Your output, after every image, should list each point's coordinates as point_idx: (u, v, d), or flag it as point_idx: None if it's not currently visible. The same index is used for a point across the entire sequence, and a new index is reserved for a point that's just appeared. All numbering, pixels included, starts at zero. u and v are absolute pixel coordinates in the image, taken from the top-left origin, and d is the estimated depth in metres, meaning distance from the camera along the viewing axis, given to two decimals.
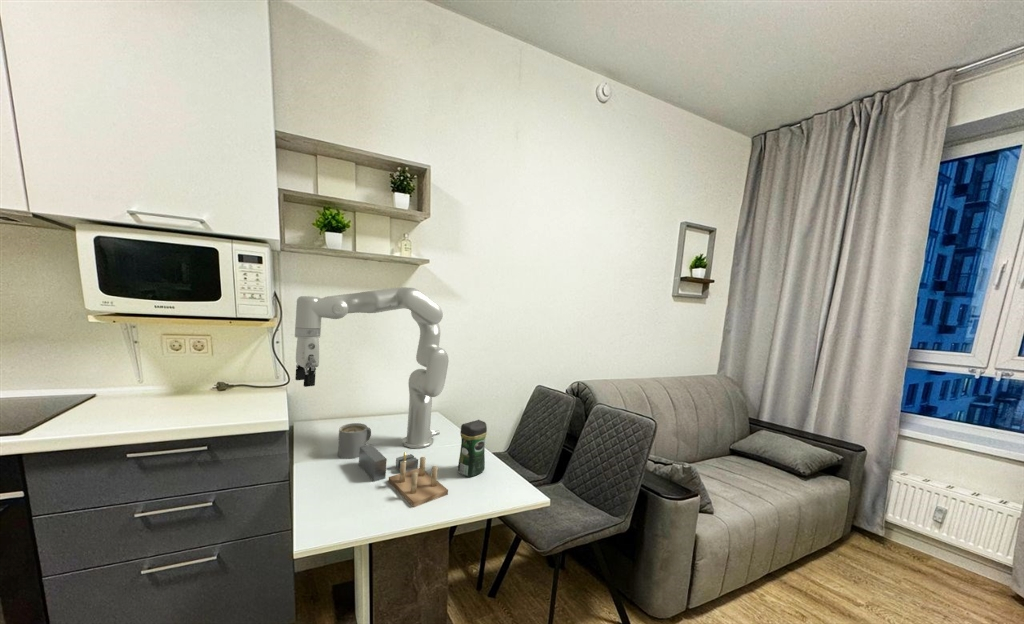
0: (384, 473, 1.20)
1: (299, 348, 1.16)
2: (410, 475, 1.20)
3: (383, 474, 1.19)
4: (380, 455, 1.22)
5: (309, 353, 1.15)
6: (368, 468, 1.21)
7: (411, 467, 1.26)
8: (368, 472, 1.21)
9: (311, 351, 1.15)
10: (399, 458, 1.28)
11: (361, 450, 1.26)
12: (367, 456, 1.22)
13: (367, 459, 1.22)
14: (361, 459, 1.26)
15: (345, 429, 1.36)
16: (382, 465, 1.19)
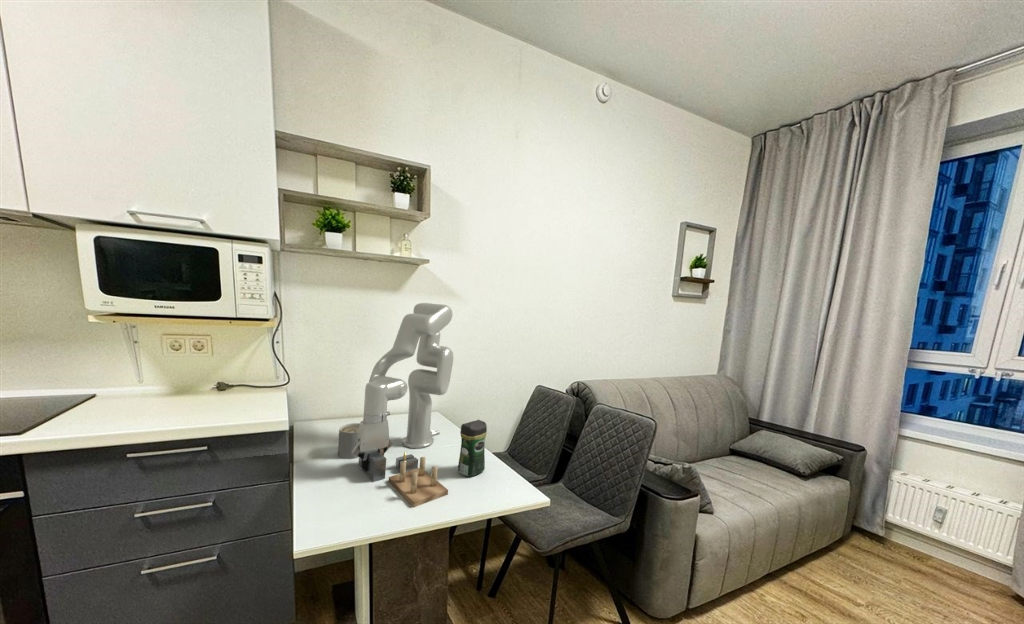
0: (384, 473, 1.19)
1: (379, 433, 1.22)
2: (410, 475, 1.20)
3: (383, 474, 1.19)
4: (379, 454, 1.22)
5: None
6: None
7: (411, 467, 1.26)
8: (367, 471, 1.21)
9: None
10: (399, 458, 1.28)
11: None
12: (367, 456, 1.22)
13: (367, 459, 1.21)
14: (361, 459, 1.25)
15: (345, 429, 1.36)
16: (382, 465, 1.19)
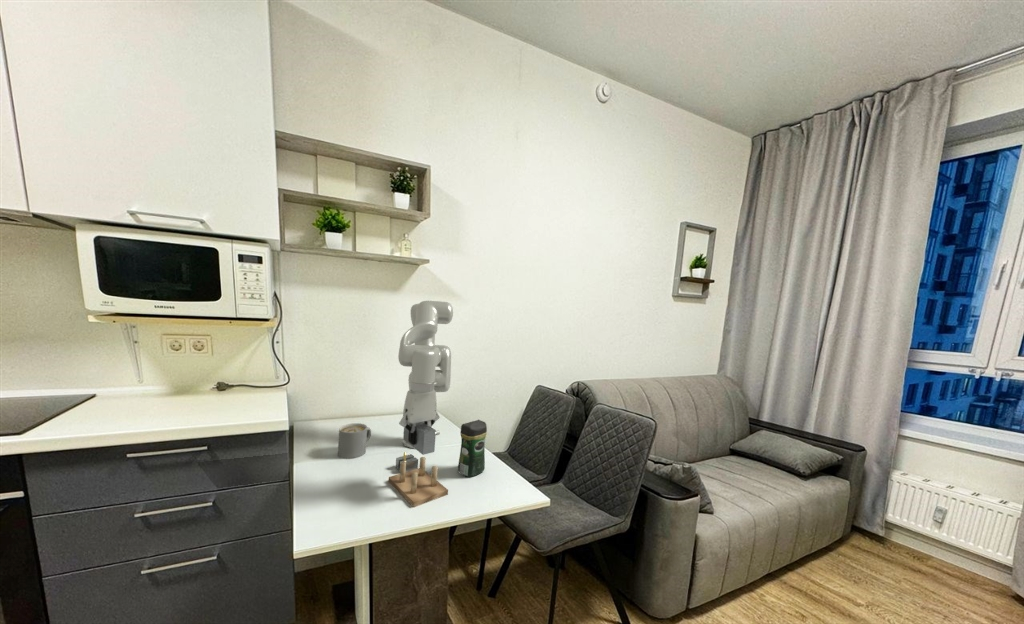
0: (433, 446, 1.11)
1: (427, 403, 1.14)
2: (410, 475, 1.20)
3: (432, 447, 1.11)
4: (427, 426, 1.14)
5: None
6: (415, 440, 1.13)
7: (411, 467, 1.26)
8: (415, 445, 1.12)
9: None
10: (399, 458, 1.28)
11: (406, 422, 1.18)
12: None
13: None
14: (406, 432, 1.17)
15: (345, 429, 1.36)
16: (431, 437, 1.10)
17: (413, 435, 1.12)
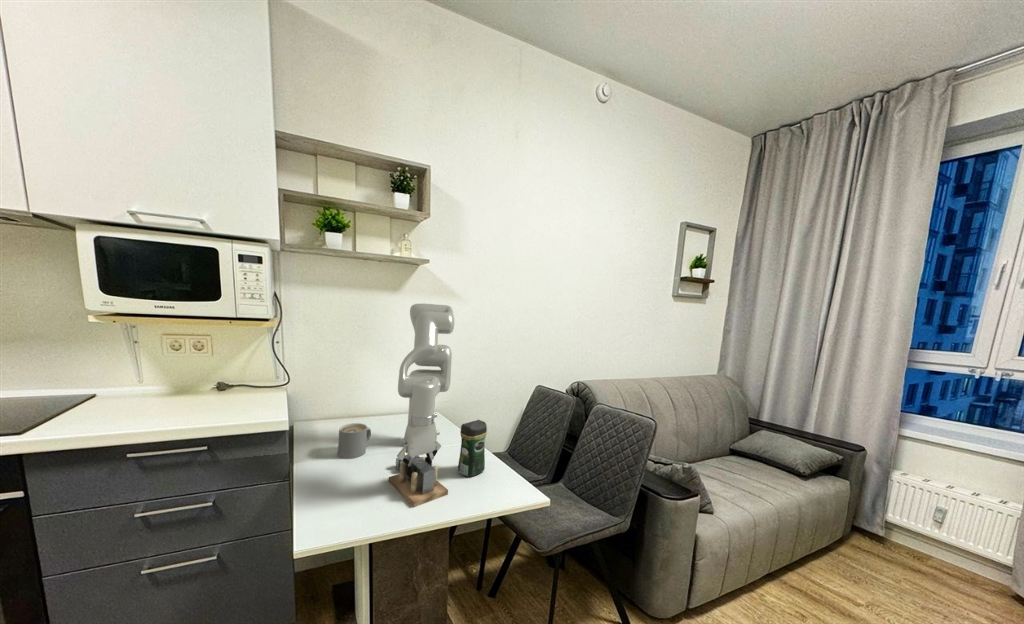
0: (433, 485, 1.11)
1: (427, 436, 1.14)
2: None
3: (432, 486, 1.11)
4: (427, 465, 1.14)
5: None
6: None
7: None
8: None
9: None
10: None
11: None
12: (414, 466, 1.14)
13: (414, 470, 1.14)
14: None
15: (345, 429, 1.36)
16: (431, 476, 1.11)
17: (410, 468, 1.12)
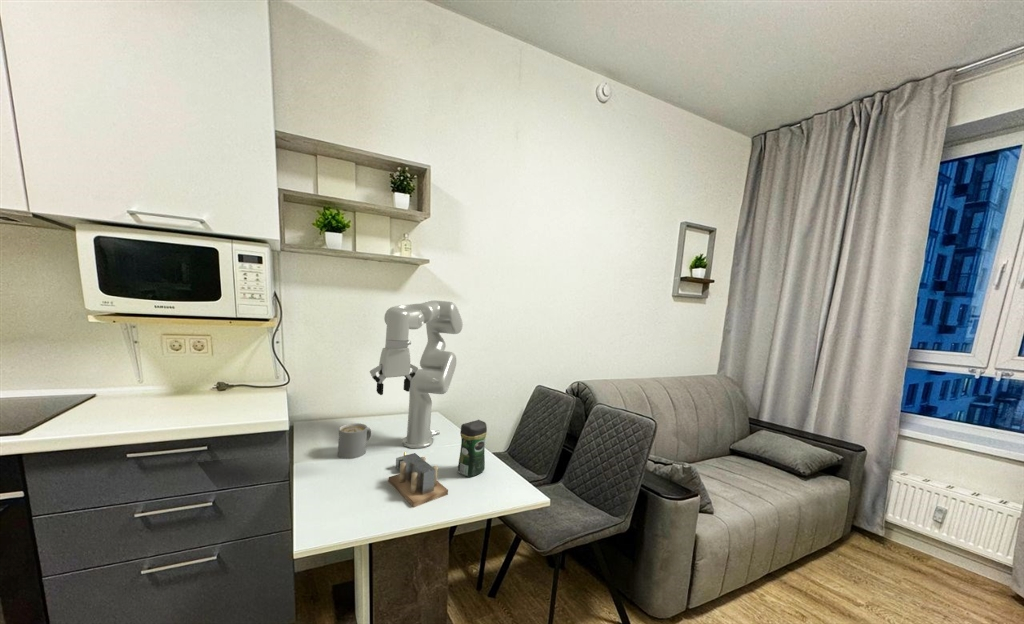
0: (433, 485, 1.11)
1: (401, 359, 1.23)
2: None
3: (432, 486, 1.11)
4: (427, 465, 1.14)
5: None
6: None
7: None
8: None
9: None
10: (399, 458, 1.28)
11: (406, 459, 1.18)
12: (414, 466, 1.14)
13: (414, 470, 1.14)
14: (406, 469, 1.18)
15: (345, 429, 1.36)
16: (431, 476, 1.11)
17: (381, 386, 1.20)
